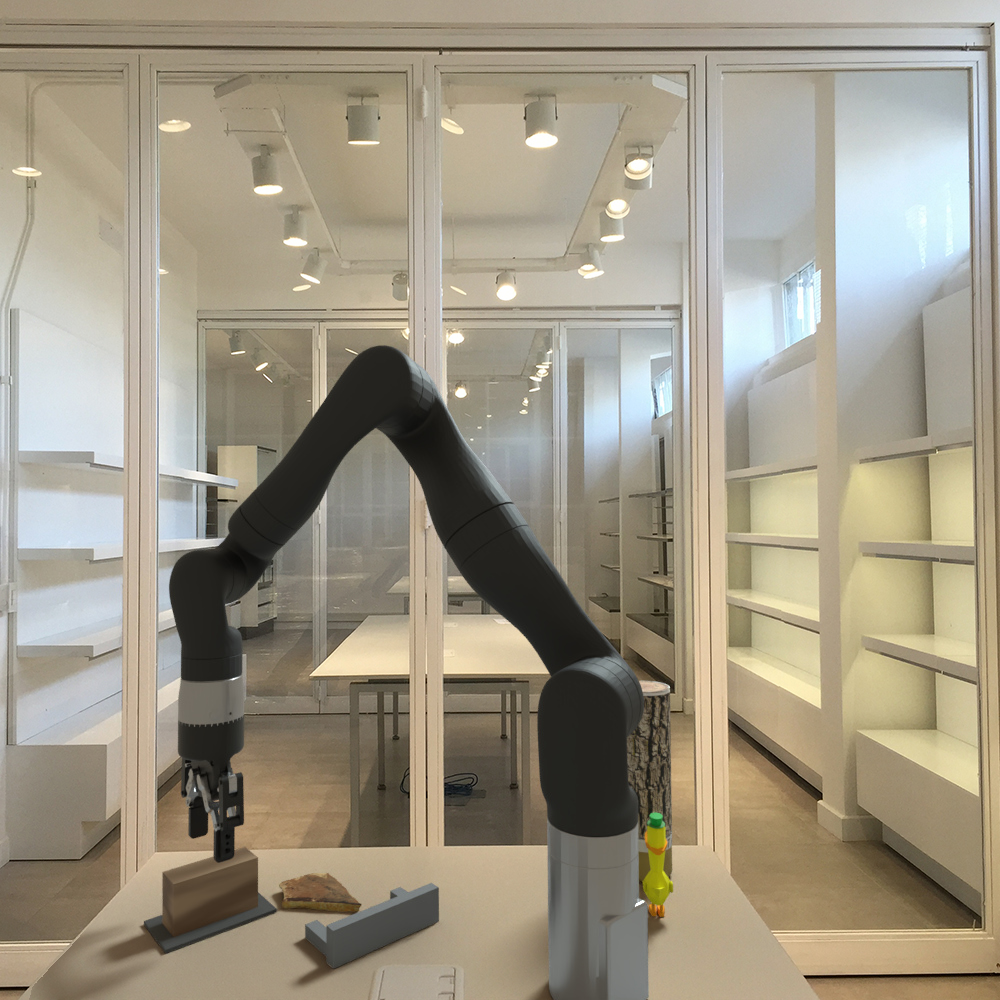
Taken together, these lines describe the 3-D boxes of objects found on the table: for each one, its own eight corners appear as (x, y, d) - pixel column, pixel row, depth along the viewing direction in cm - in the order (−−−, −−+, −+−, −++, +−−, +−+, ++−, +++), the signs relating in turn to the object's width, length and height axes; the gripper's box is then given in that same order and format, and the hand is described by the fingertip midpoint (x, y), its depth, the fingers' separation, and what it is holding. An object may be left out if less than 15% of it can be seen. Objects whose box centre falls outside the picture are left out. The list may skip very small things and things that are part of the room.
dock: (439, 921, 89) (438, 887, 89) (333, 968, 80) (333, 930, 80) (403, 897, 95) (403, 865, 95) (301, 939, 86) (300, 903, 86)
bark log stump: (614, 878, 100) (611, 688, 100) (630, 857, 106) (628, 678, 106) (664, 889, 96) (662, 694, 97) (678, 867, 102) (675, 683, 103)
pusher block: (258, 906, 92) (258, 857, 92) (173, 937, 86) (173, 884, 86) (245, 894, 95) (244, 846, 95) (162, 923, 89) (162, 871, 89)
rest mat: (276, 912, 92) (276, 908, 92) (165, 953, 83) (165, 949, 83) (250, 888, 98) (250, 884, 98) (143, 924, 89) (143, 921, 89)
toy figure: (639, 897, 95) (638, 801, 95) (668, 897, 94) (666, 801, 95) (645, 926, 88) (643, 822, 88) (676, 927, 88) (674, 823, 88)
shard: (362, 916, 92) (362, 901, 92) (301, 937, 87) (301, 921, 87) (327, 881, 100) (327, 867, 100) (271, 898, 96) (271, 884, 96)
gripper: (265, 720, 88) (265, 859, 88) (220, 697, 99) (219, 821, 99) (201, 732, 83) (199, 879, 83) (160, 706, 94) (159, 837, 94)
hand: (210, 847), depth 91 cm, fingers open, 8 cm apart
